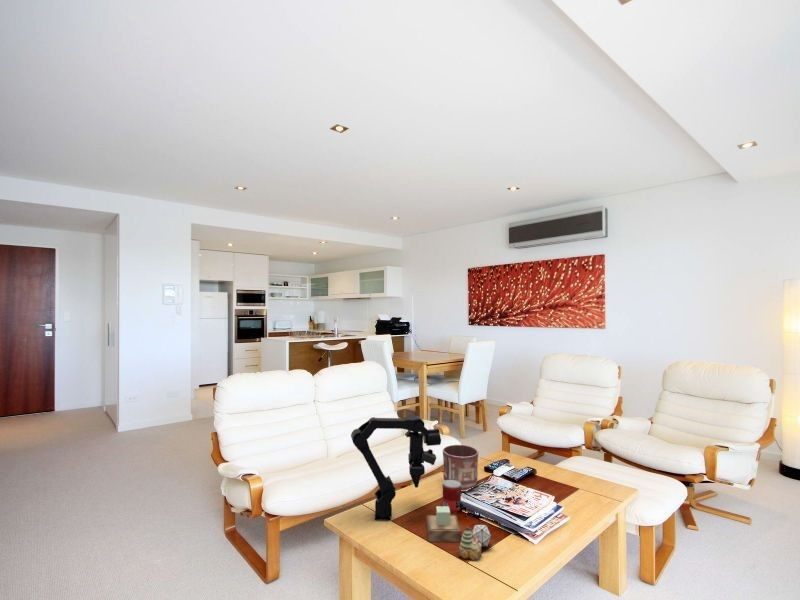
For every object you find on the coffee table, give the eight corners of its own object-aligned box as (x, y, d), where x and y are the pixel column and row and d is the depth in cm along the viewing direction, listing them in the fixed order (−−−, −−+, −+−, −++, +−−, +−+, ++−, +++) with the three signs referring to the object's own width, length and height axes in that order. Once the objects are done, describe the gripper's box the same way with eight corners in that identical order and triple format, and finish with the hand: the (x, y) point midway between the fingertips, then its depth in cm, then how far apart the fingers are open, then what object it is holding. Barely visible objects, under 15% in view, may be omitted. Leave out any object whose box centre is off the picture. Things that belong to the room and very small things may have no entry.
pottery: (434, 486, 213) (434, 449, 213) (457, 476, 225) (458, 442, 225) (462, 498, 200) (463, 459, 200) (485, 488, 212) (486, 451, 212)
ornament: (481, 552, 156) (481, 524, 156) (481, 562, 150) (481, 533, 150) (459, 549, 158) (459, 522, 158) (458, 559, 152) (458, 530, 152)
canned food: (460, 513, 185) (460, 487, 186) (441, 511, 187) (441, 485, 187) (461, 505, 193) (461, 480, 193) (443, 503, 195) (443, 478, 195)
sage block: (437, 525, 167) (437, 512, 167) (436, 519, 172) (436, 506, 172) (450, 525, 167) (450, 512, 167) (448, 519, 172) (448, 506, 172)
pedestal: (428, 541, 163) (428, 530, 163) (426, 525, 175) (426, 514, 175) (460, 541, 163) (460, 530, 163) (456, 525, 175) (456, 514, 175)
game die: (483, 559, 158) (486, 546, 152) (463, 544, 162) (465, 531, 156) (495, 539, 164) (498, 526, 158) (475, 525, 168) (478, 512, 162)
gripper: (437, 453, 176) (436, 492, 176) (433, 439, 195) (433, 474, 194) (409, 453, 176) (409, 492, 176) (408, 439, 195) (408, 474, 194)
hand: (416, 482), depth 185 cm, fingers open, 9 cm apart
